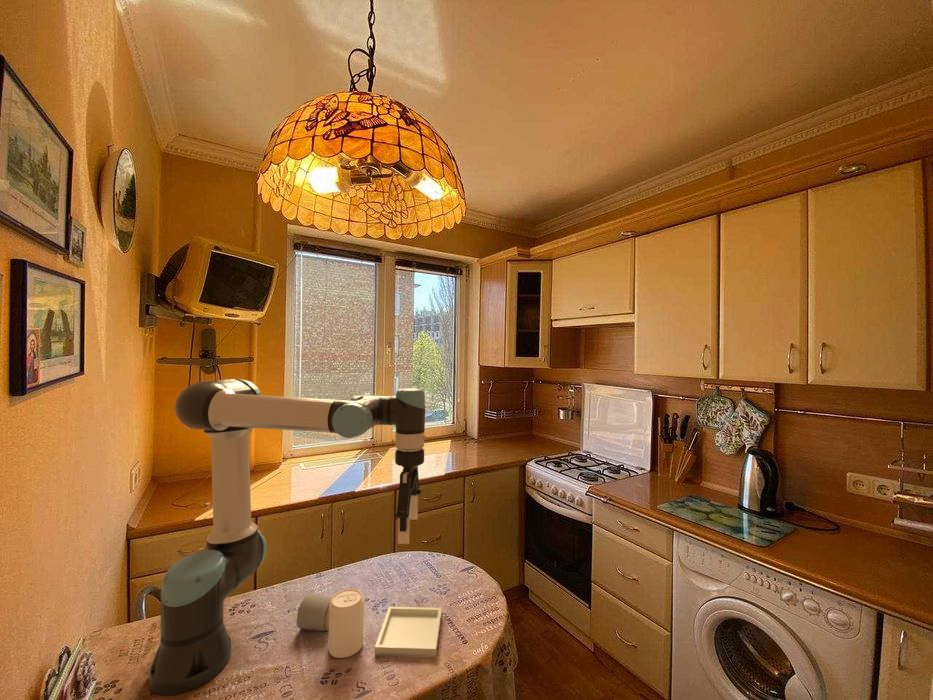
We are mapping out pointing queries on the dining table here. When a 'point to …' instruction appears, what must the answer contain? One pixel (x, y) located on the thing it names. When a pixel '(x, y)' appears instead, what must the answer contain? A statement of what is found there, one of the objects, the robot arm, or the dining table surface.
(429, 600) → the dining table surface
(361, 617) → the beverage can
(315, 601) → the ceramic mug
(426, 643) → the holder tray
